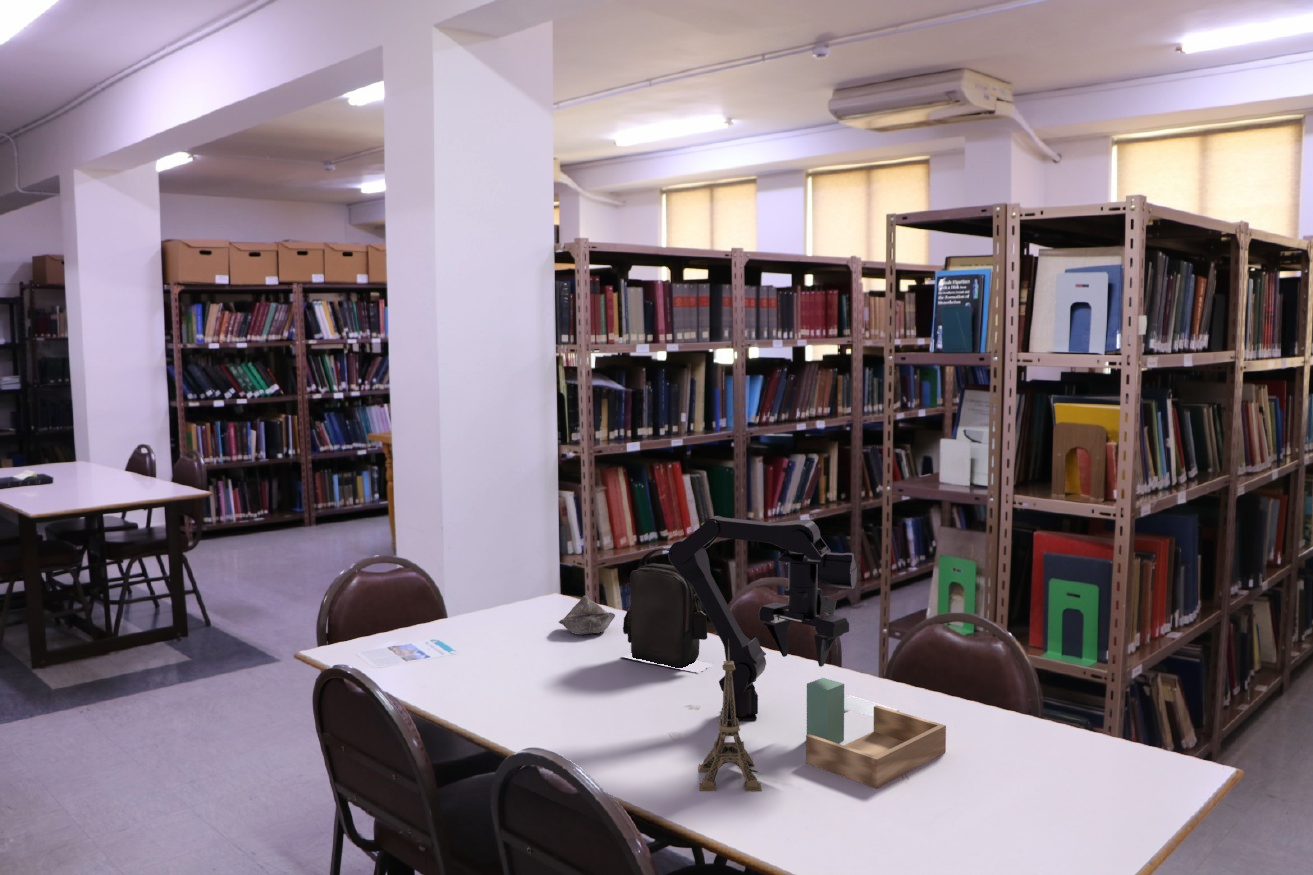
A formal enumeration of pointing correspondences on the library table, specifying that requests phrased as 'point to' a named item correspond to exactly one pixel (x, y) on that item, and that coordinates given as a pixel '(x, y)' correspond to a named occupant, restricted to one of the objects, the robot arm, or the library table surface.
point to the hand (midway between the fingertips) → (802, 661)
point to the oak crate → (880, 749)
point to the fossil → (587, 617)
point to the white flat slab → (861, 705)
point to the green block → (825, 709)
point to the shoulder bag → (663, 615)
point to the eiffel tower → (728, 750)
